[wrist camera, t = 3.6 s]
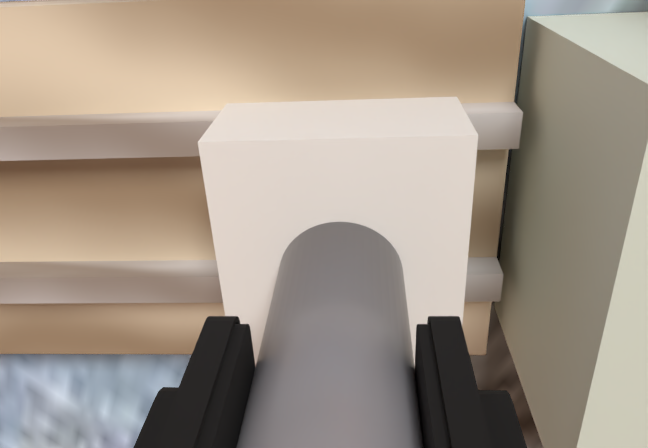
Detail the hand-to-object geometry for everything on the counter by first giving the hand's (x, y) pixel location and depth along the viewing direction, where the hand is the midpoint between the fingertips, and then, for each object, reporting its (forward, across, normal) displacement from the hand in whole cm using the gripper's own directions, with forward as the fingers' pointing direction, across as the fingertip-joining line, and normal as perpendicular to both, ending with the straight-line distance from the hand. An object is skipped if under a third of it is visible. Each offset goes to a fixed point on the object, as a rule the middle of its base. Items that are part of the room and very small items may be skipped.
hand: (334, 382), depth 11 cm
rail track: (+9, +8, 0) cm, 12 cm away
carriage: (+7, 0, 0) cm, 7 cm away
